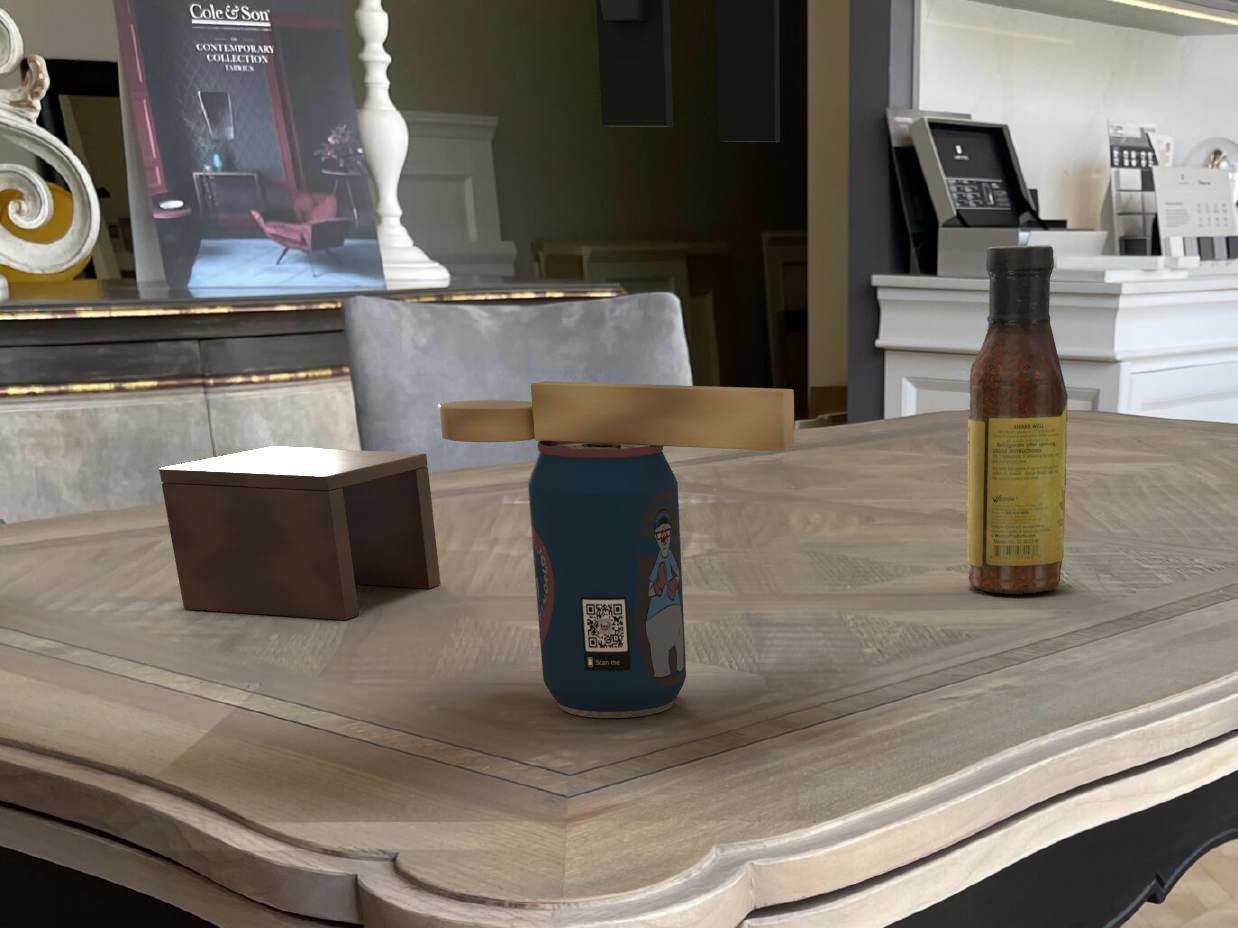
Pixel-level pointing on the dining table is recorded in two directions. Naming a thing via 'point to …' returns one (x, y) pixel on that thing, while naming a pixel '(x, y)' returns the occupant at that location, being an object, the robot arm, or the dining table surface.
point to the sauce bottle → (1017, 432)
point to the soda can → (608, 577)
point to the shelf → (299, 529)
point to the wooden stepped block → (630, 416)
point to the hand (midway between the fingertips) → (698, 135)
